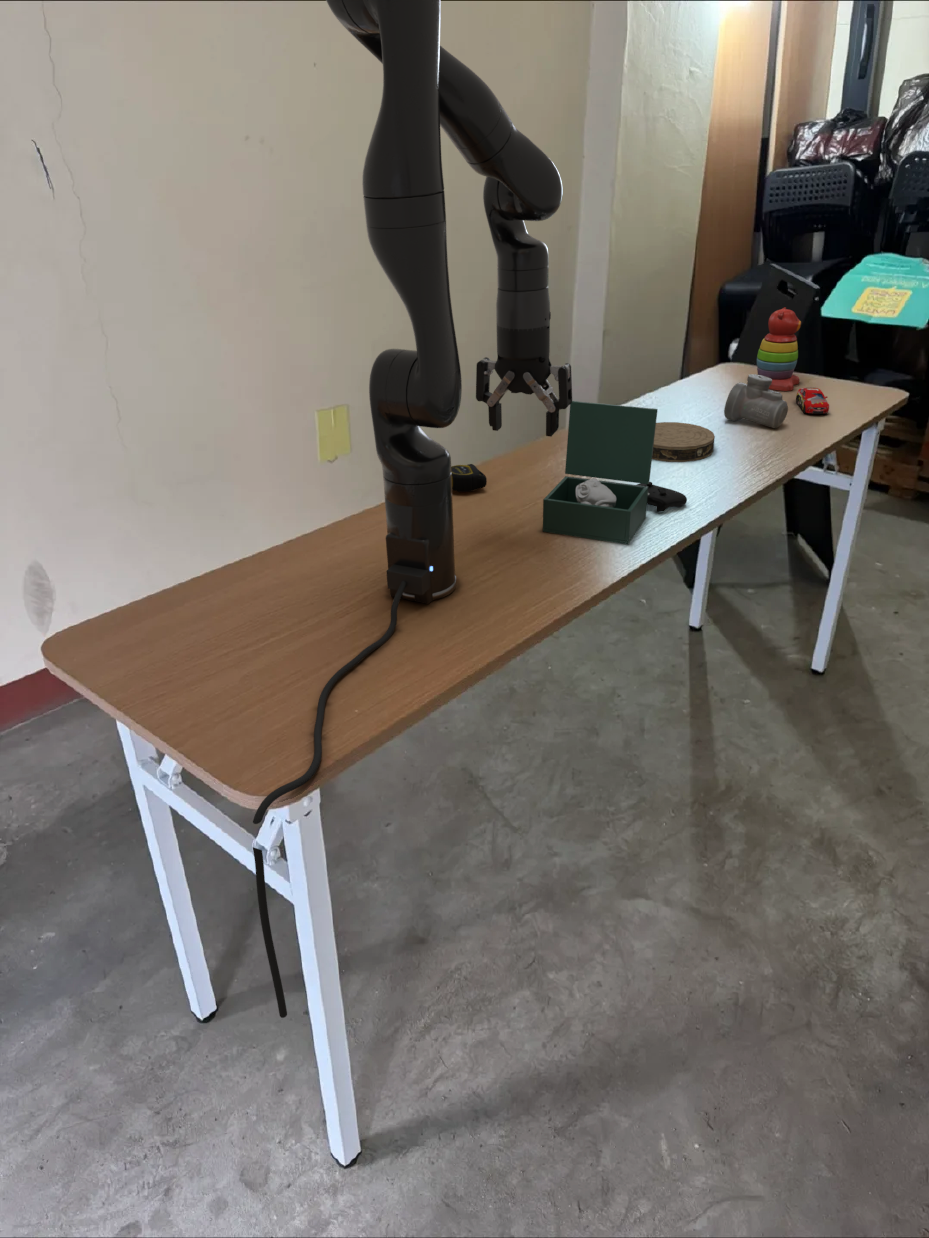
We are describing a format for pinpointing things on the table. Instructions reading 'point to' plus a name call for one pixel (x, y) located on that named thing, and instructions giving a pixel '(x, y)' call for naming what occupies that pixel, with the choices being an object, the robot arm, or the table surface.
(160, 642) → the table surface
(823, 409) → the race car
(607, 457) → the lid
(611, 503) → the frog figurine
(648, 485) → the game controller
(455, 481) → the tape measure
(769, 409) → the pipe fitting
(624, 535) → the chest
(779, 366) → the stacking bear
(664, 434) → the wood slice coaster
